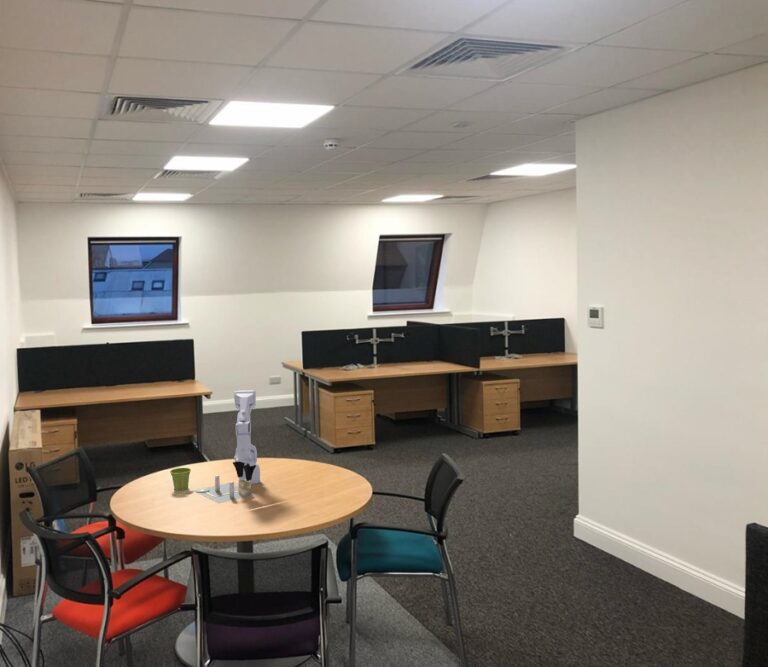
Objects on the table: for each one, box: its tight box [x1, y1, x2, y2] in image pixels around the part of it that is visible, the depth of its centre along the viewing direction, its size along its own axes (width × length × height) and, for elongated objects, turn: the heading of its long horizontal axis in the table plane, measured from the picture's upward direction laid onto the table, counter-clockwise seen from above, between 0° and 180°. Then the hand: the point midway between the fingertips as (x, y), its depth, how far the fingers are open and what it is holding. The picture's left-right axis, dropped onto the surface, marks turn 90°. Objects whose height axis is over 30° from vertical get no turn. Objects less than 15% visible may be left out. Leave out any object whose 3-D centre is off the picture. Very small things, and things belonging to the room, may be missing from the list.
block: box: [237, 479, 252, 496], centre depth 324 cm, size 4×4×6 cm
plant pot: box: [169, 467, 192, 491], centre depth 336 cm, size 9×9×9 cm
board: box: [193, 474, 256, 504], centre depth 327 cm, size 18×24×8 cm
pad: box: [195, 487, 210, 494], centre depth 330 cm, size 6×6×1 cm
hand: (244, 478), depth 324 cm, fingers open, 7 cm apart
